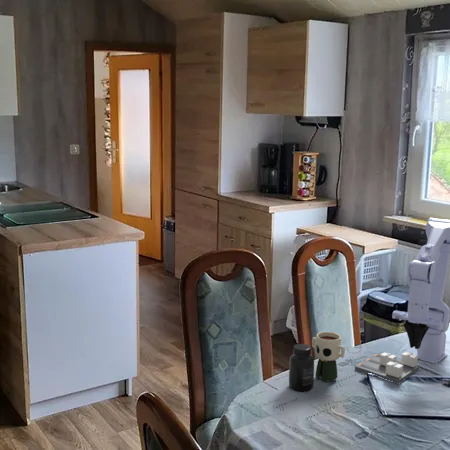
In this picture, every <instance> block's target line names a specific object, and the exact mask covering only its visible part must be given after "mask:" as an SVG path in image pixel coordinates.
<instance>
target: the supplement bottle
mask: <svg viewBox="0 0 450 450" xmlns="http://www.w3.org/2000/svg"><path fill="white" fill-rule="evenodd" d="M292 353H293V354H291V356H290V357H289V361H288V362H289V367H288V387H289V388H290V390H292V391H294V392H296V393H307V392H308V393H309V392H310V391H312V390H313V389H314V378H315V377H314V375H315V359H314V356H313V355H312V346H310V345H309V344H305V343H304V344H303V343H298V344H294V345H293V351H292Z"/></svg>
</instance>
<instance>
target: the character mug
mask: <svg viewBox="0 0 450 450" xmlns="http://www.w3.org/2000/svg"><path fill="white" fill-rule="evenodd" d="M311 348H313V349H314V352H315V357H316V358H317V359H318V360H317V363H316V369H315V378H316V379H317V380H320V378H321V381H323V382H333V381H335V380H336V379H338V366H337V365H338V364H337V360H339V359H340V358H345V351H346V350H345V349H346V348H345V346H343V345H342V335H340V334H339V333H337V332H333V331H320V332H318V333H316V336H312V339H311Z"/></svg>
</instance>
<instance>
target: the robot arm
mask: <svg viewBox="0 0 450 450" xmlns="http://www.w3.org/2000/svg"><path fill="white" fill-rule="evenodd" d="M425 235H426V238H427V242H426V244H424V245H422V246H421V247H420V249H419V251H418V253H417V255H416V257H415V259H414V260H413V261H410V262H409V264H408V268H407V279H408V282H407V283H408V284H407V285H408V287H409V288H408V289H409V290H408V300H407V301H408V302H407V311H402V310H401V311H400V310H394V311H393V312H392V314H391V316H392V317H391V318H392V319H395V320H396V319H398V320H401V321H405V323H403V328H404V330H405V331H406V335H407V338H408V340H409V348H414V349H415V350H416V352H414V353H413V354H415V355H418V360H422V361H425V362H428V363H432V364H438V363H439V362H440V361H441V360H443V359H445V357H446V358H447V356H448V353H447V352H446V342H447V341H446V340H447V334H446V332H447V331H448V330H449V327H450V307H449V306H448V305H447V304H446V303H445V302H444V301H443V299H444V293H445V290H446V283H447V276H448V271H449V265H450V219H446V218H445V219H443V218H437V217H436V218H434V217H429V218H428V219H427V222H426V225H425Z"/></svg>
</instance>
